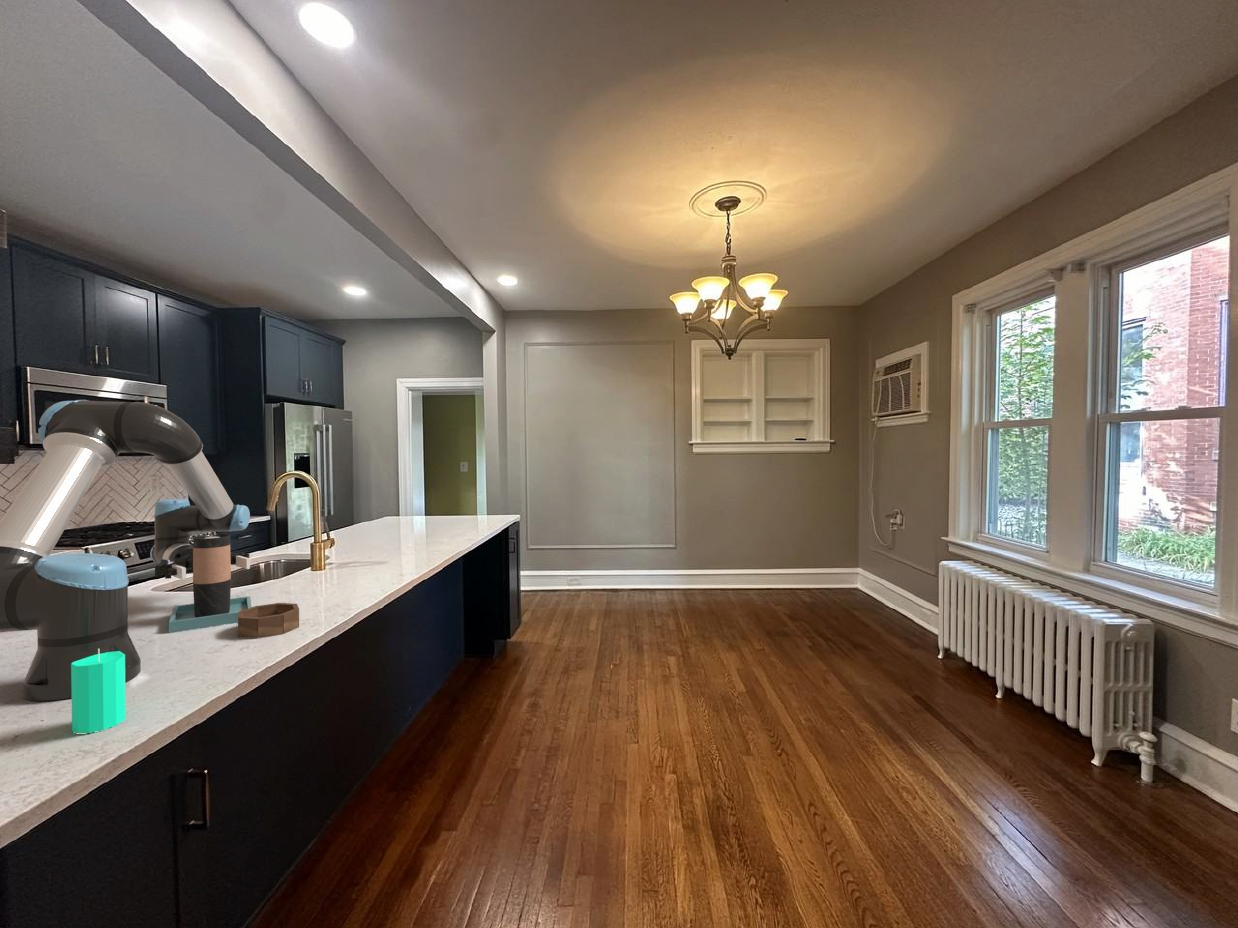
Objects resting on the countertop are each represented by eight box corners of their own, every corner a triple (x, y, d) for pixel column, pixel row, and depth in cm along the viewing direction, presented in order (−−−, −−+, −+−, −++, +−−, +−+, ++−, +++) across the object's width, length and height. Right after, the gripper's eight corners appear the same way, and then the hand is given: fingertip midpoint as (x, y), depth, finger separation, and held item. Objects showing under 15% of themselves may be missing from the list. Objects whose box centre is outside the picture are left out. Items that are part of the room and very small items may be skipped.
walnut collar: (238, 641, 117) (238, 621, 117) (237, 626, 127) (237, 608, 127) (300, 630, 124) (300, 612, 124) (295, 617, 134) (295, 600, 134)
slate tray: (168, 632, 122) (168, 622, 122) (174, 615, 135) (174, 605, 135) (252, 620, 132) (252, 610, 132) (250, 605, 144) (250, 596, 144)
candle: (75, 739, 77) (74, 659, 77) (68, 726, 81) (67, 649, 81) (130, 722, 82) (129, 647, 82) (121, 711, 86) (120, 639, 85)
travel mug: (215, 618, 129) (214, 538, 129) (184, 618, 129) (184, 538, 129) (238, 609, 137) (238, 534, 137) (209, 609, 137) (209, 533, 137)
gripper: (238, 564, 154) (272, 573, 142) (124, 581, 133) (153, 594, 121) (237, 538, 153) (271, 546, 142) (124, 551, 133) (153, 562, 121)
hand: (217, 568), depth 131 cm, fingers open, 13 cm apart
